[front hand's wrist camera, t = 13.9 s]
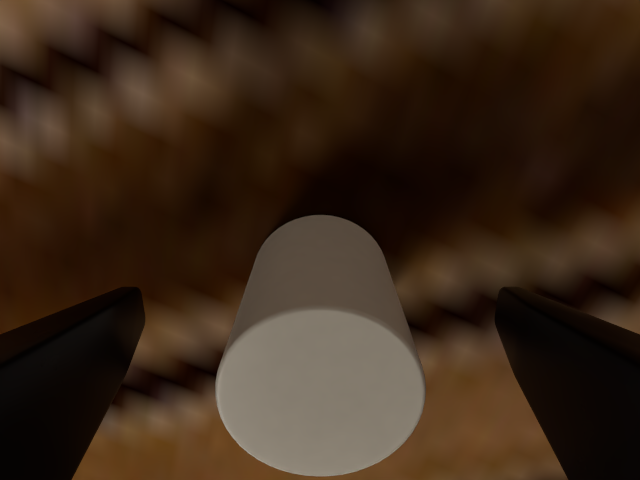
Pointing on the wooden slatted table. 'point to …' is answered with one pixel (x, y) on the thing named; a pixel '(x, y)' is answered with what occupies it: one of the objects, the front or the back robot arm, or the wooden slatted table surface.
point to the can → (320, 354)
